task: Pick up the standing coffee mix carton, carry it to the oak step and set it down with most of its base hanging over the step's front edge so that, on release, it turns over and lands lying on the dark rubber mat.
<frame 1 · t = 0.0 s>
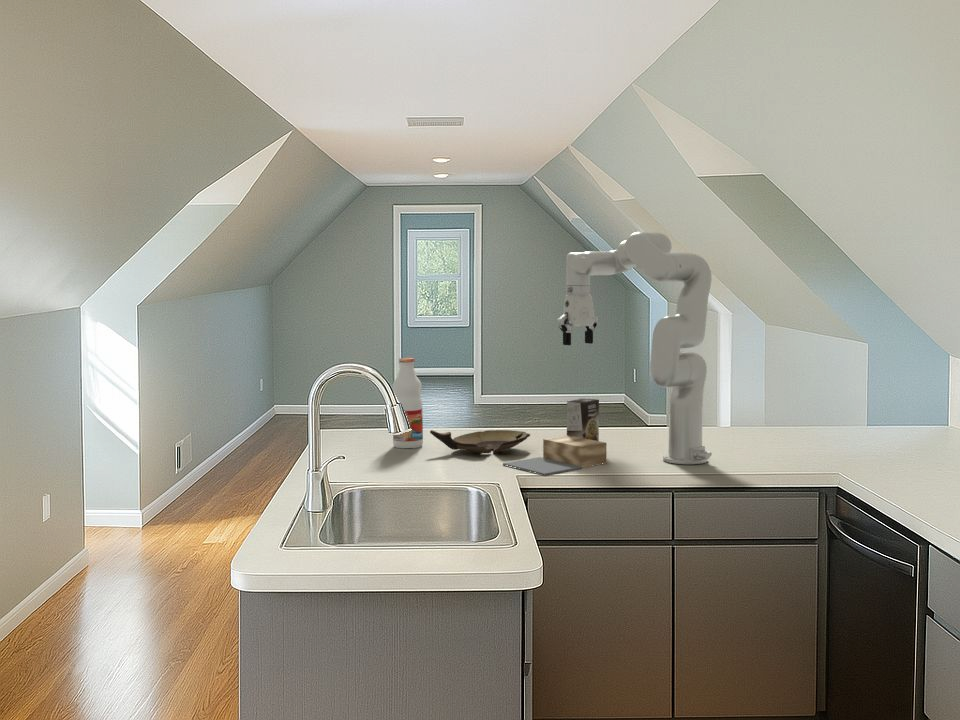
hand: (578, 344, 318), 31 cm above the counter, tool pointing down, fingers open, 9 cm apart
oak step: (574, 461, 286), on the counter
brown shallow curved piece: (481, 452, 303), on the counter
rubber mat: (542, 467, 279), on the counter
fruit juice: (408, 447, 312), on the counter
coffee box: (582, 453, 299), on the counter
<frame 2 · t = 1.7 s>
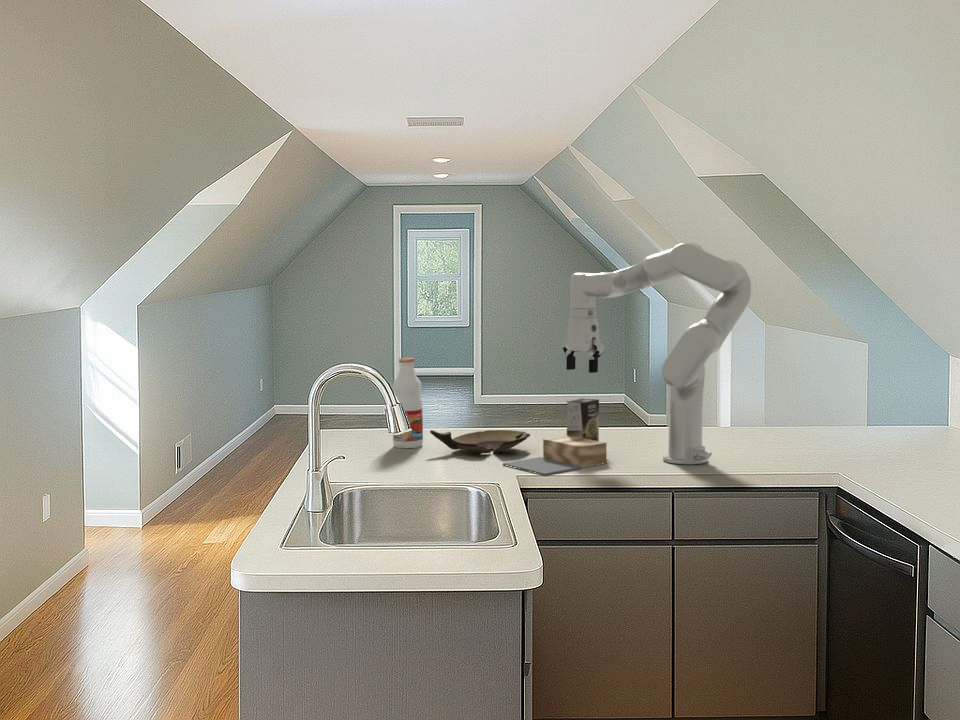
hand: (581, 370, 297), 25 cm above the counter, tool pointing down, fingers open, 9 cm apart
nothing on the counter moved.
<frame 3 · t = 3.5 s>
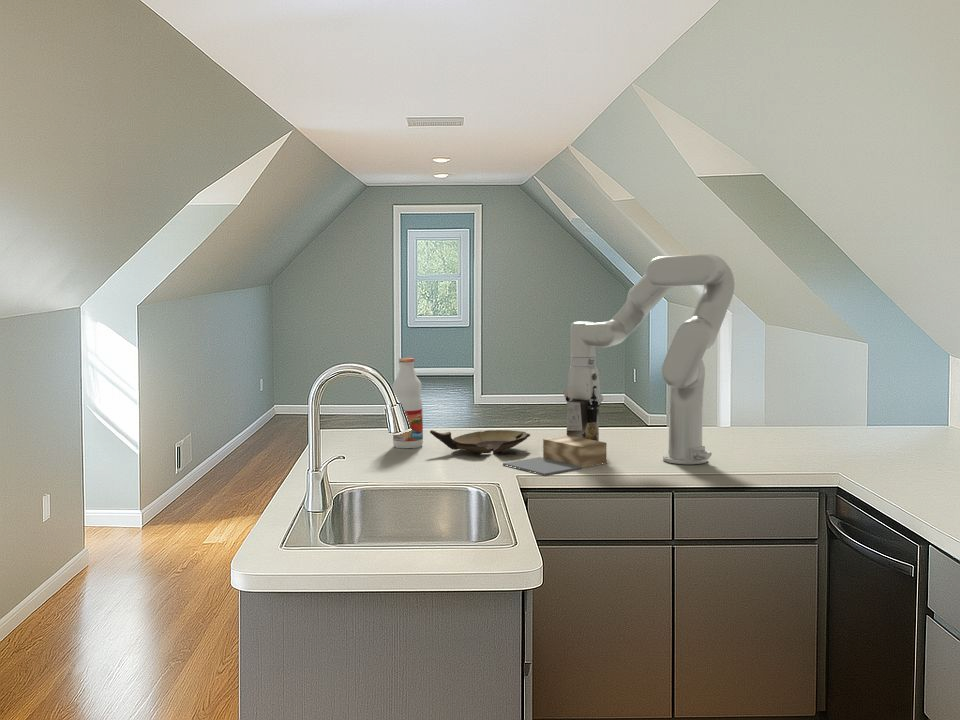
hand: (582, 420, 298), 10 cm above the counter, tool pointing down, fingers closed on coffee box, 7 cm apart
coffee box: (582, 453, 299), on the counter, touching gripper
everything else where it was.
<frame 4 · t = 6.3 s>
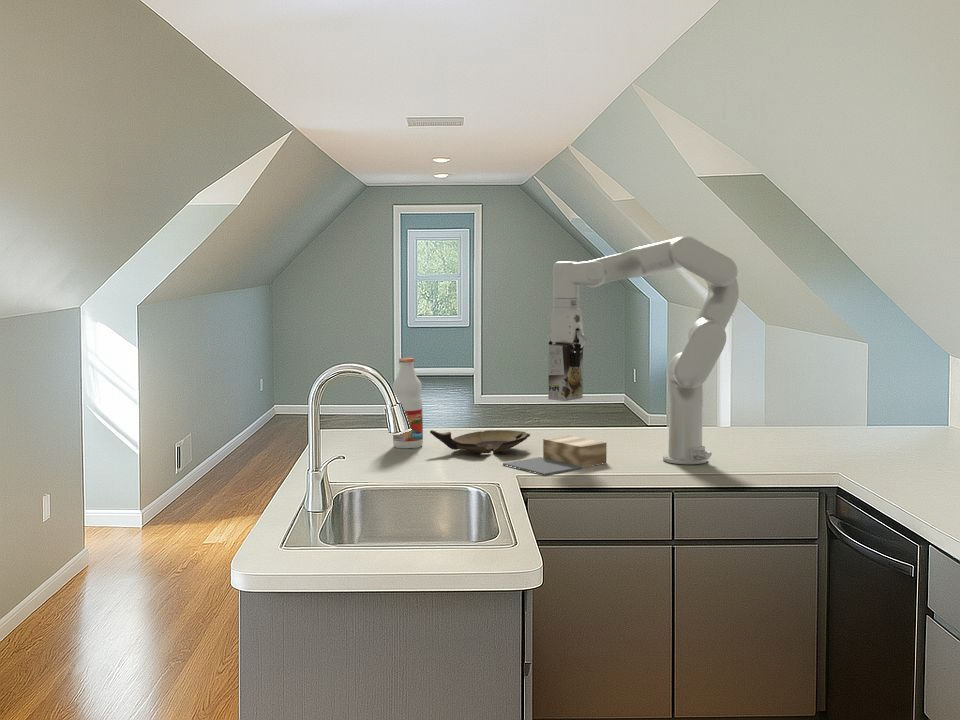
hand: (565, 365, 286), 28 cm above the counter, tool pointing down, fingers closed on coffee box, 7 cm apart
coffee box: (565, 399, 287), point 18 cm above the counter, touching gripper
everything else where it was.
when the fingers open (17 cm above the counter, at t = 9.5 s): coffee box stays where it is, resting on oak step.
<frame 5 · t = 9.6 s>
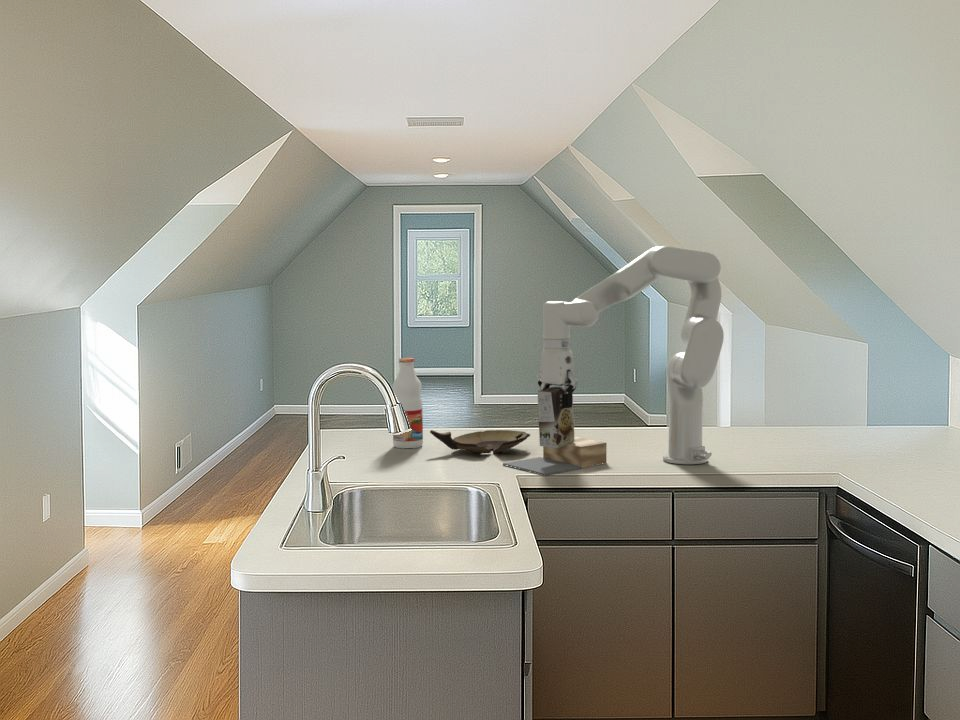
hand: (556, 405, 281), 17 cm above the counter, tool pointing down, fingers open, 8 cm apart
coffee box: (557, 444, 282), point 6 cm above the counter, touching oak step
everything else where it was.
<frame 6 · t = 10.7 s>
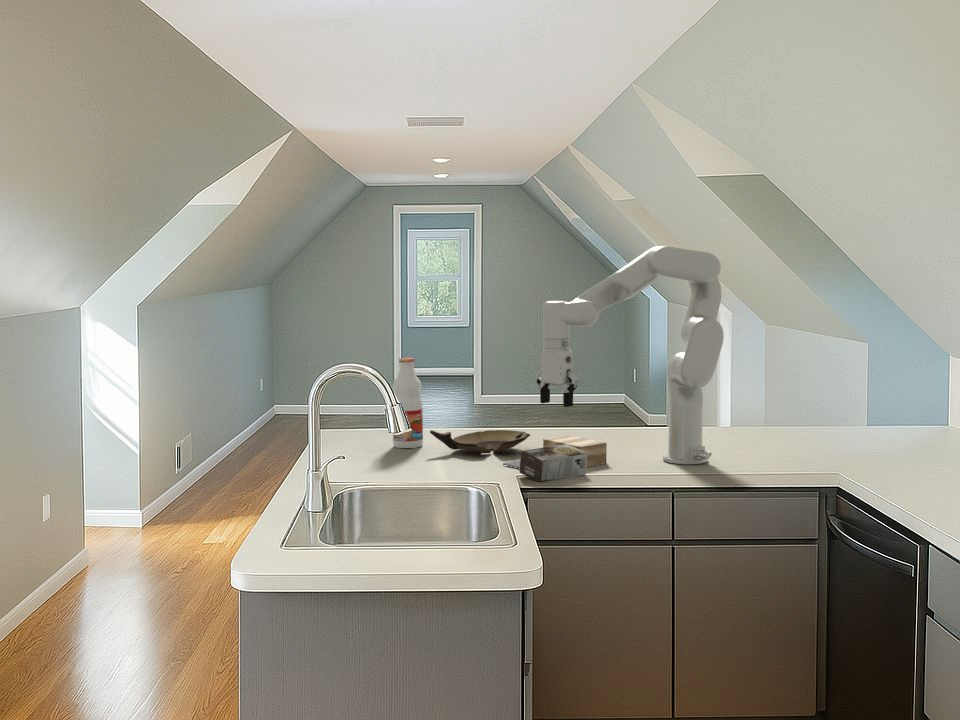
hand: (556, 404, 280), 17 cm above the counter, tool pointing down, fingers open, 9 cm apart
coffee box: (577, 459, 271), point 4 cm above the counter, touching rubber mat
everything else where it was.
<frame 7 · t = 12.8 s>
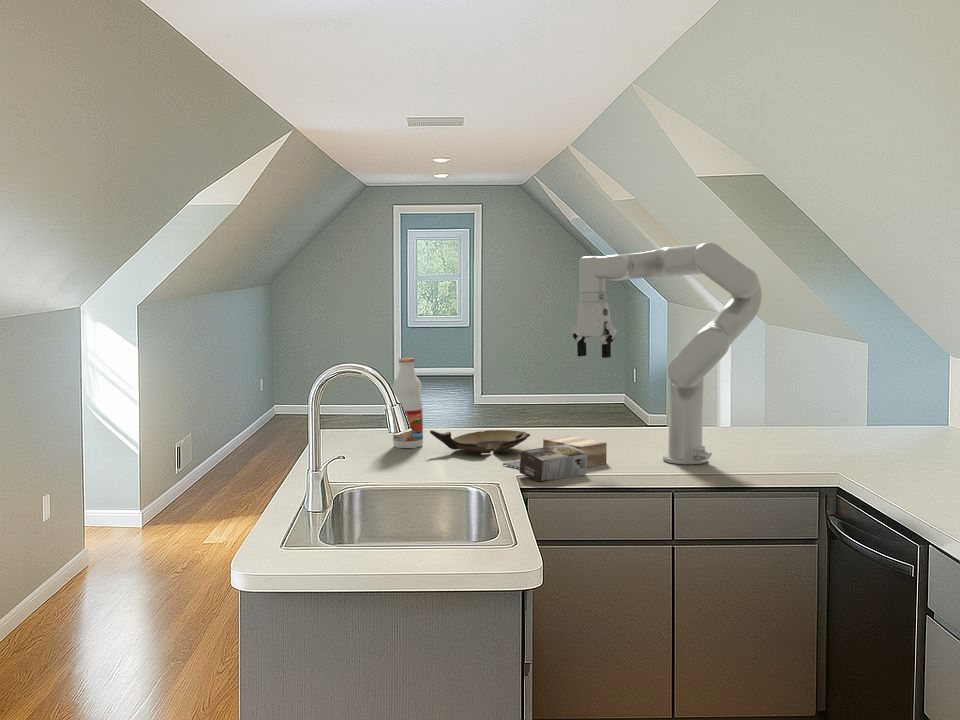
hand: (594, 356, 290), 30 cm above the counter, tool pointing down, fingers open, 9 cm apart
nothing on the counter moved.
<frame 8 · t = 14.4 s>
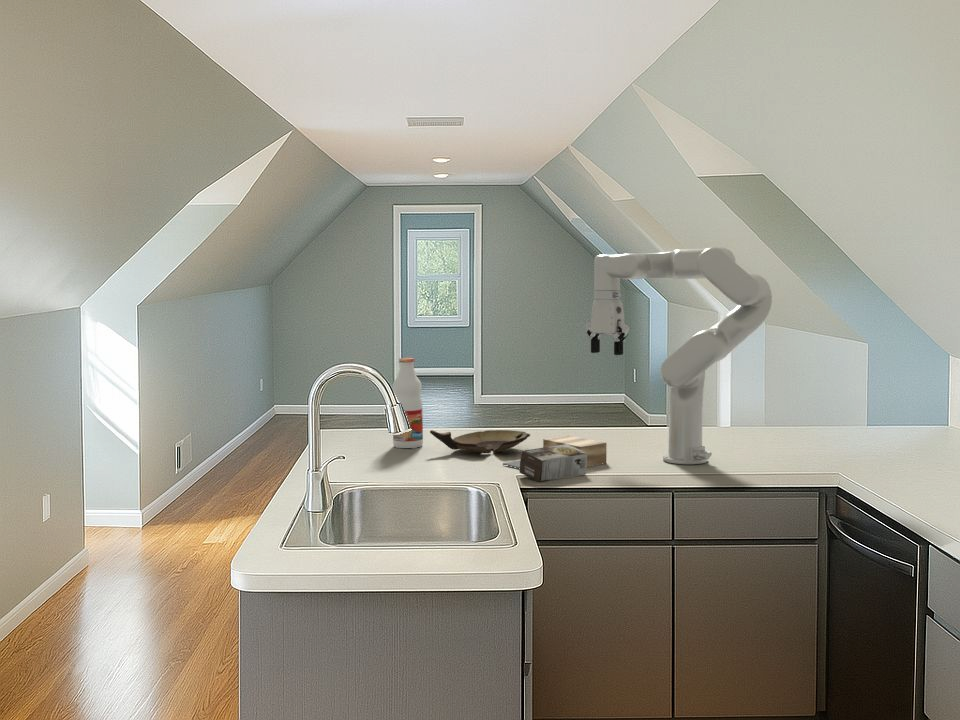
hand: (606, 353, 294), 30 cm above the counter, tool pointing down, fingers open, 9 cm apart
nothing on the counter moved.
at the end: coffee box tilted 90°; coffee box inside the target area (14.6 cm from its centre), point 3.6 cm above the counter; the gripper is holding nothing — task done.
